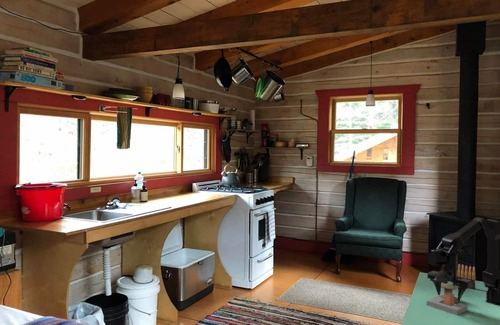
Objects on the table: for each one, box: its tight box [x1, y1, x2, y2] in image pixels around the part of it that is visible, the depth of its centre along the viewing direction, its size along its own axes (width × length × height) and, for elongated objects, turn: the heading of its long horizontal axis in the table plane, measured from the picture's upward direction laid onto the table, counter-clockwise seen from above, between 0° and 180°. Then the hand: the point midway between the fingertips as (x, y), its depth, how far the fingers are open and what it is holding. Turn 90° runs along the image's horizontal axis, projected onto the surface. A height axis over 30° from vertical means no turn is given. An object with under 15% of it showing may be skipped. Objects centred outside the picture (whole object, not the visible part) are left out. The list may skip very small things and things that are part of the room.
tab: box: [443, 292, 455, 306], centre depth 190 cm, size 3×4×6 cm
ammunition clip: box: [452, 263, 476, 290], centre depth 220 cm, size 11×2×12 cm, turn 52°
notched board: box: [426, 296, 469, 316], centre depth 189 cm, size 14×10×2 cm
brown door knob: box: [437, 283, 459, 304], centre depth 199 cm, size 9×9×6 cm
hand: (448, 297), depth 189 cm, fingers open, 9 cm apart
